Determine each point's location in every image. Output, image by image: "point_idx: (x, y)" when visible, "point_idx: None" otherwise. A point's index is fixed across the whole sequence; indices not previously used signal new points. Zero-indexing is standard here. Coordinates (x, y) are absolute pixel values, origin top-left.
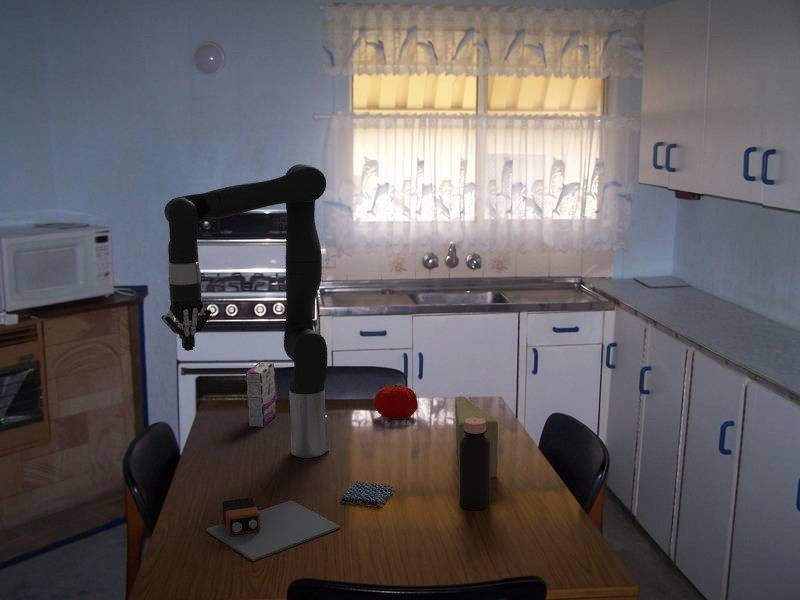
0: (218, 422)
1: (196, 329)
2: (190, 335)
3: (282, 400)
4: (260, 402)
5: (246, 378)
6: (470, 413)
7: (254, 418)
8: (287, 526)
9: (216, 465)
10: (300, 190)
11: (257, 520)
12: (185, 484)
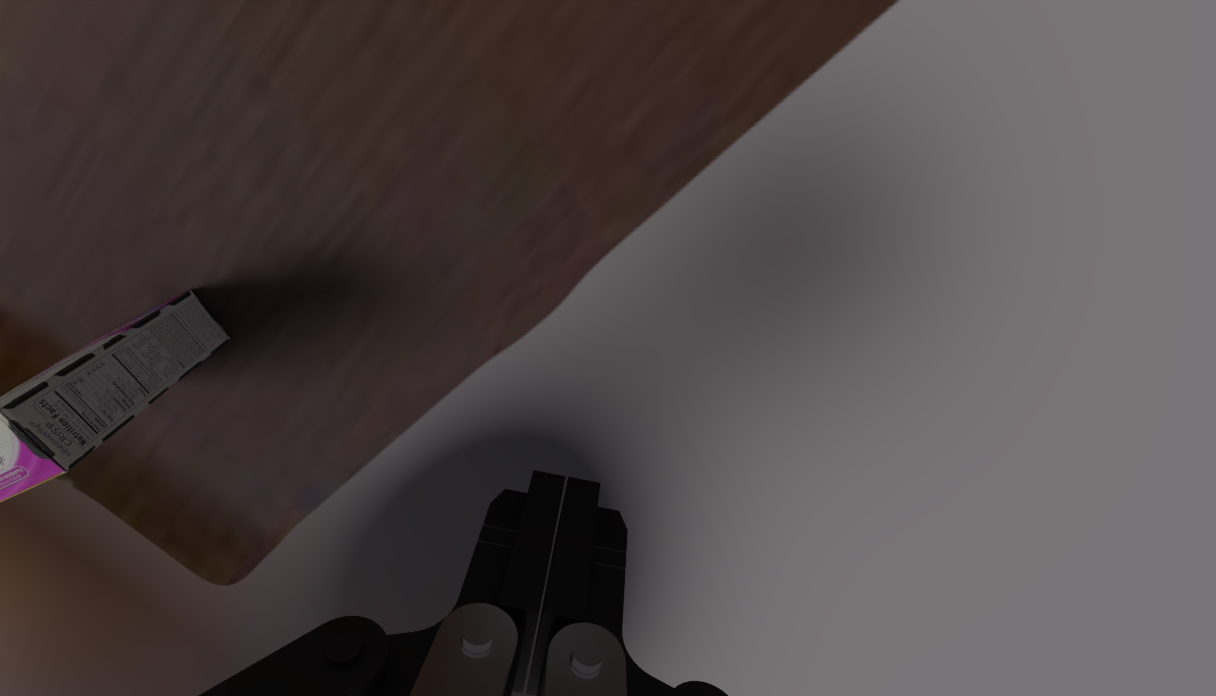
0: (296, 442)
1: (386, 677)
2: (518, 625)
3: None
4: (127, 341)
5: (89, 452)
6: None
7: (196, 333)
8: None
9: (550, 135)
10: None
11: None
12: (758, 79)
